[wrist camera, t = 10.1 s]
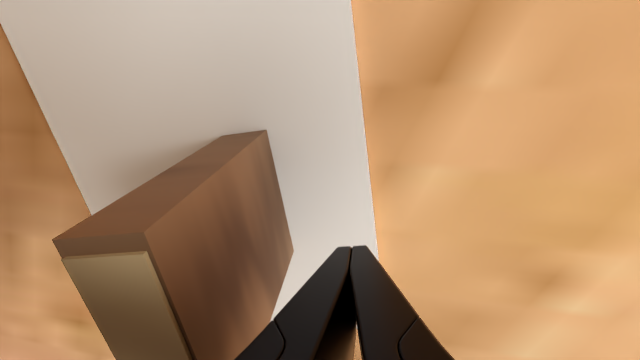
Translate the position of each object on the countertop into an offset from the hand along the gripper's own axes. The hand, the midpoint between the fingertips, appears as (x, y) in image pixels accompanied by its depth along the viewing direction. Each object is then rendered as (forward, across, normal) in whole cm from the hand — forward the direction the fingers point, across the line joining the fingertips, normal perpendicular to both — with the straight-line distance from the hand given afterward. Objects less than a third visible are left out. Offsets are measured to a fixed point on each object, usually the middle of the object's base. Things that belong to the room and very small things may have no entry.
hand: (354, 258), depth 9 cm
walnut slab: (+5, +4, 0) cm, 7 cm away
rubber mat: (+6, +6, -1) cm, 8 cm away
